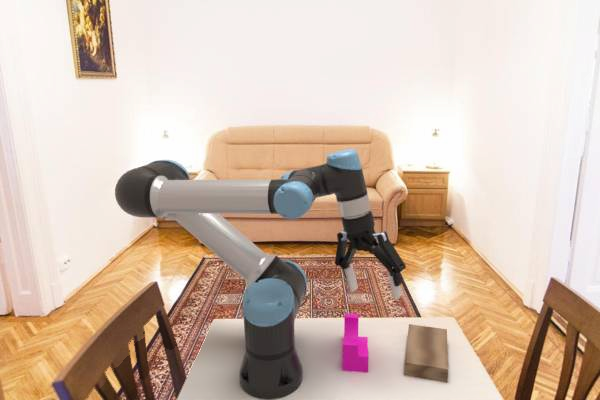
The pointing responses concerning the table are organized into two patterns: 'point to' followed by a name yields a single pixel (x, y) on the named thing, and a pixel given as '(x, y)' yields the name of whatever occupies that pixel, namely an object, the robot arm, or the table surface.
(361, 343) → the toy block
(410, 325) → the walnut base block
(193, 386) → the table surface
